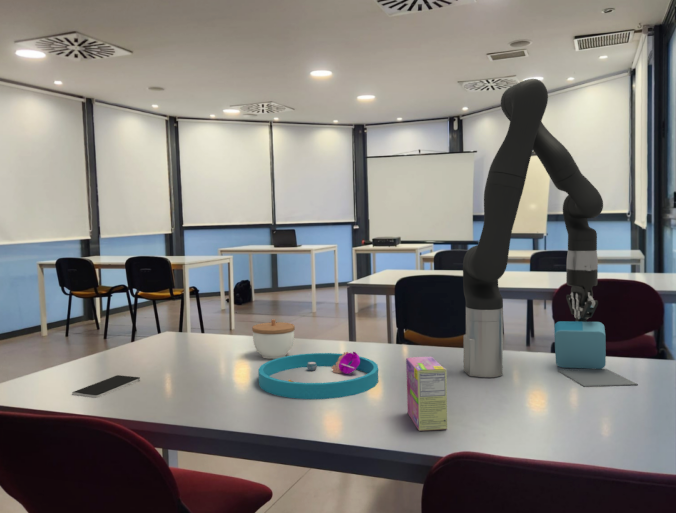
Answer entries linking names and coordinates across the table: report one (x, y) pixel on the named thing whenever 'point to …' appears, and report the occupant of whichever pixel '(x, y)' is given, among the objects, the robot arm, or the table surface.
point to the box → (426, 393)
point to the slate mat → (596, 377)
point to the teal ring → (319, 390)
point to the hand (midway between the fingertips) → (581, 332)
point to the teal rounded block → (580, 344)
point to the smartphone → (106, 386)
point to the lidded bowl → (273, 339)
